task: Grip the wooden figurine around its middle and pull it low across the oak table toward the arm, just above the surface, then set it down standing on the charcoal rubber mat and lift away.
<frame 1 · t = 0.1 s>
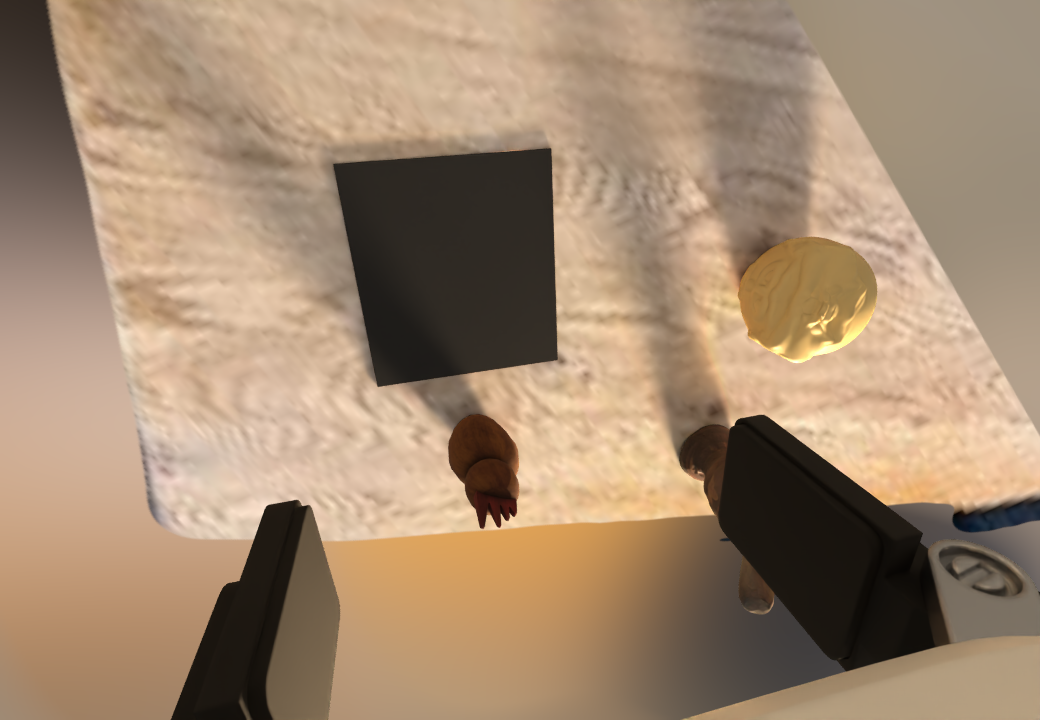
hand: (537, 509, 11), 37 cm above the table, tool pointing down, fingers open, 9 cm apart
mortar and pestle: (693, 457, 61), on the table
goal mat: (459, 273, 46), on the table
wooden figurine: (476, 430, 53), on the table
sculpture: (769, 284, 54), on the table
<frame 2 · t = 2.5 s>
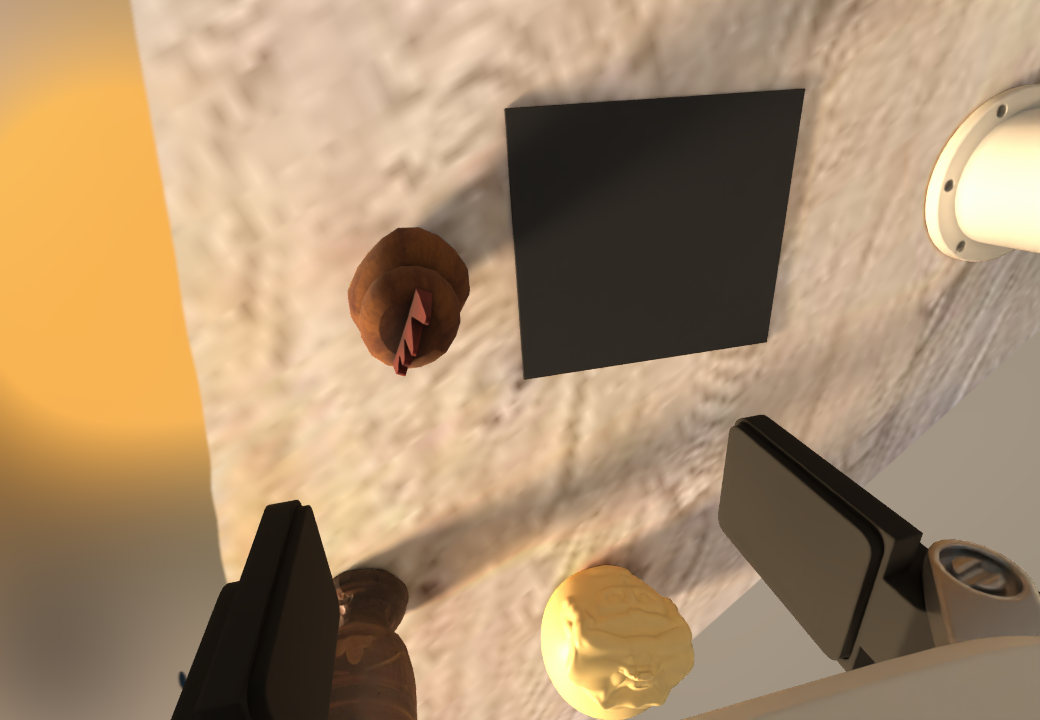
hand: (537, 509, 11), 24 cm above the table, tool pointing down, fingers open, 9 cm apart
mortar and pestle: (349, 587, 42), on the table
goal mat: (654, 242, 35), on the table
wooden figurine: (409, 270, 33), on the table
sculpture: (589, 592, 48), on the table
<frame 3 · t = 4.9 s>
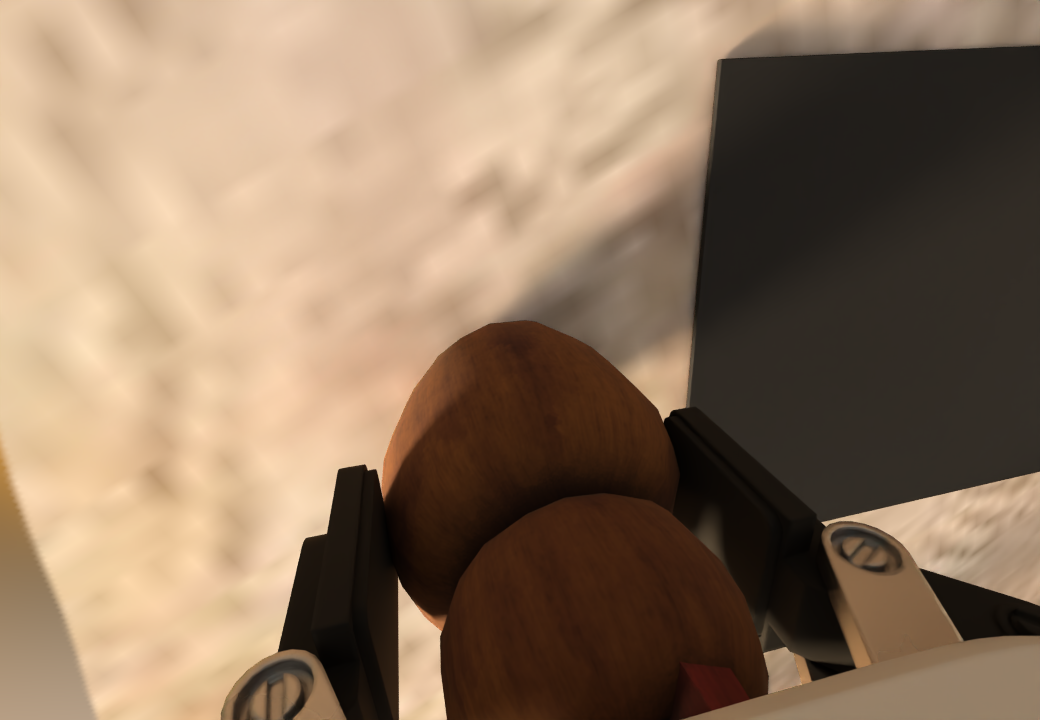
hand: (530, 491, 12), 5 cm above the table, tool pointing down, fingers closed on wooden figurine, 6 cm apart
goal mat: (928, 321, 19), on the table
wooden figurine: (491, 387, 16), on the table, touching gripper
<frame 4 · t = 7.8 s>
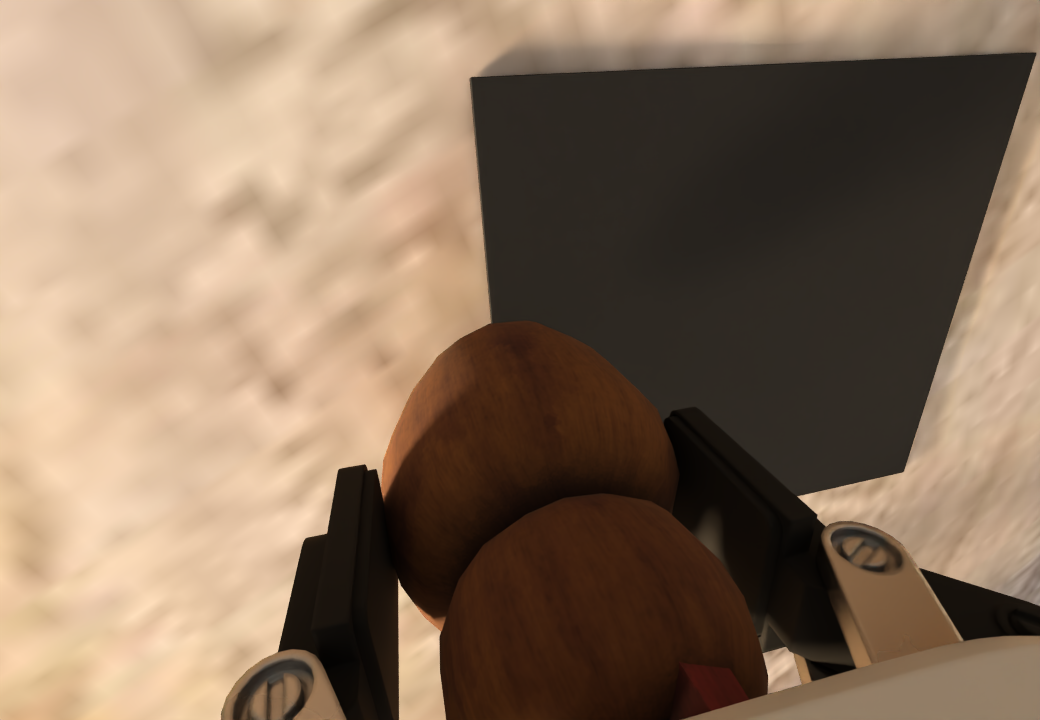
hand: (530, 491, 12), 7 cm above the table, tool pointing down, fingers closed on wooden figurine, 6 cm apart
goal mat: (746, 329, 20), on the table
wooden figurine: (491, 387, 16), point 1 cm above the table, touching gripper
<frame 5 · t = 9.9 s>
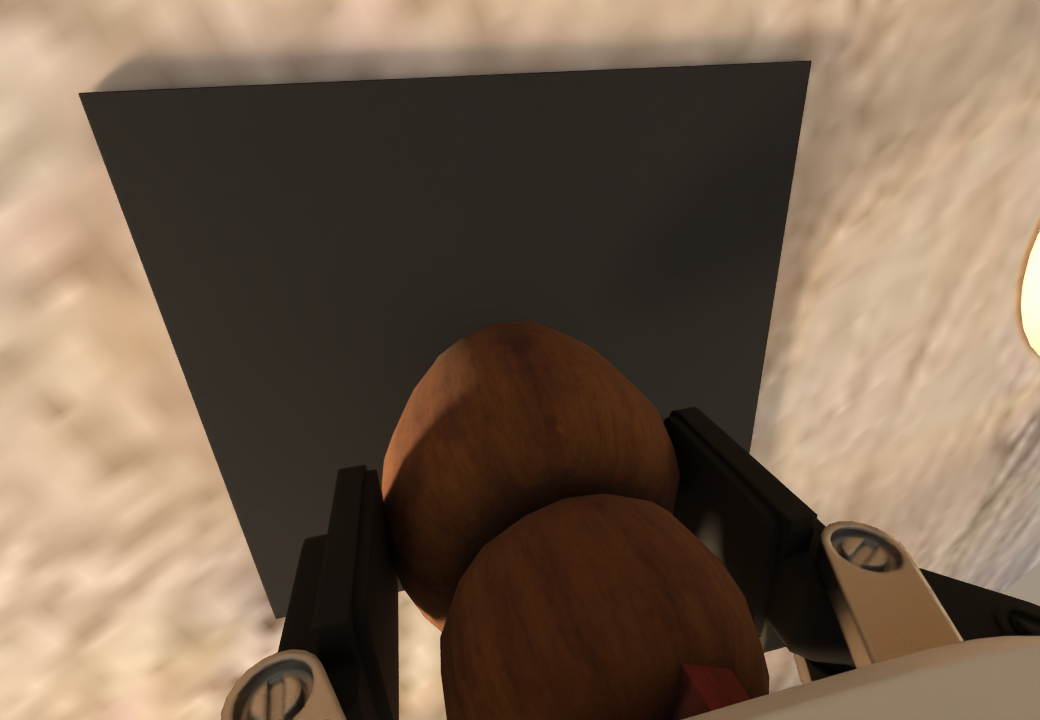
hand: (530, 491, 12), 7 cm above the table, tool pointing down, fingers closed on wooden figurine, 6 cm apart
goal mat: (512, 369, 18), on the table
wooden figurine: (491, 387, 16), point 1 cm above the table, touching gripper
when the fingers open (5 cm above the table, at t = 10.9 s): wooden figurine stays where it is, resting on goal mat.
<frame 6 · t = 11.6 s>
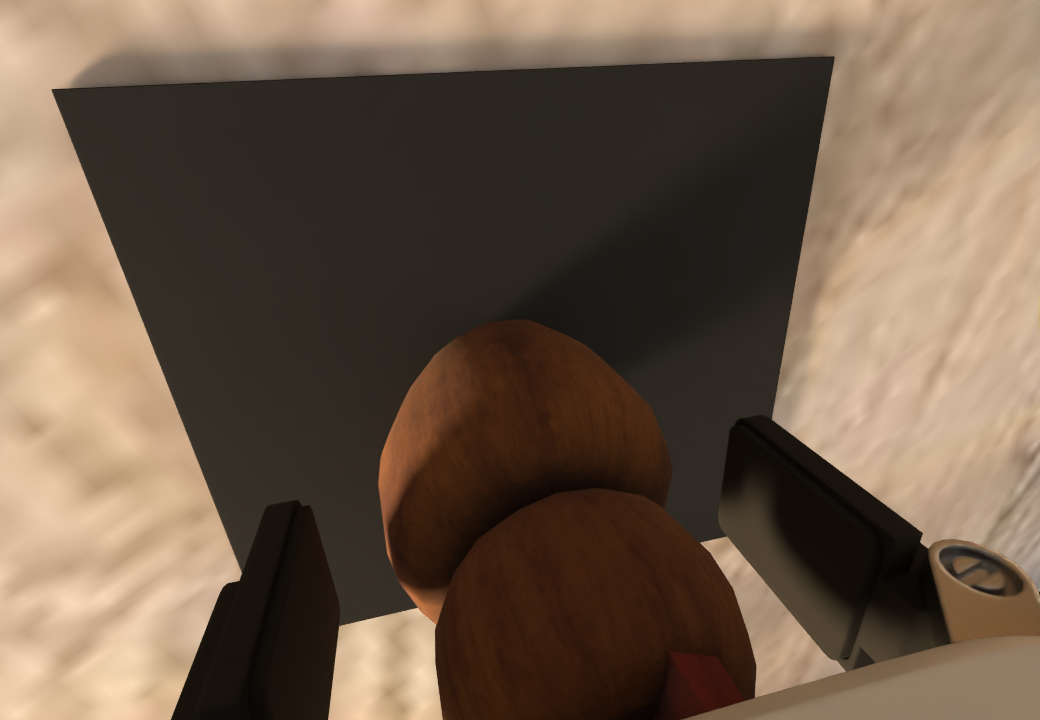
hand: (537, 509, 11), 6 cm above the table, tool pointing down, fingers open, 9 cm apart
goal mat: (517, 381, 17), on the table
wooden figurine: (487, 386, 17), resting on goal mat
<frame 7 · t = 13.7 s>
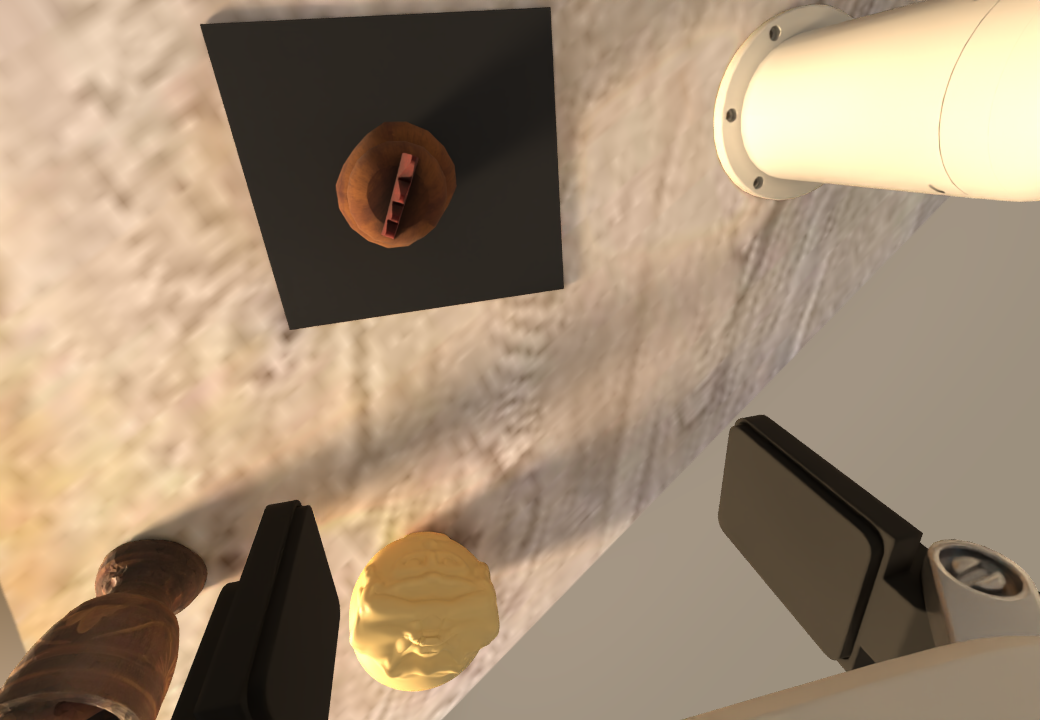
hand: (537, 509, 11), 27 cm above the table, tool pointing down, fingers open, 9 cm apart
mortar and pestle: (137, 560, 40), on the table
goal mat: (412, 178, 33), on the table
wooden figurine: (396, 180, 33), resting on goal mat
sculpture: (418, 562, 46), on the table
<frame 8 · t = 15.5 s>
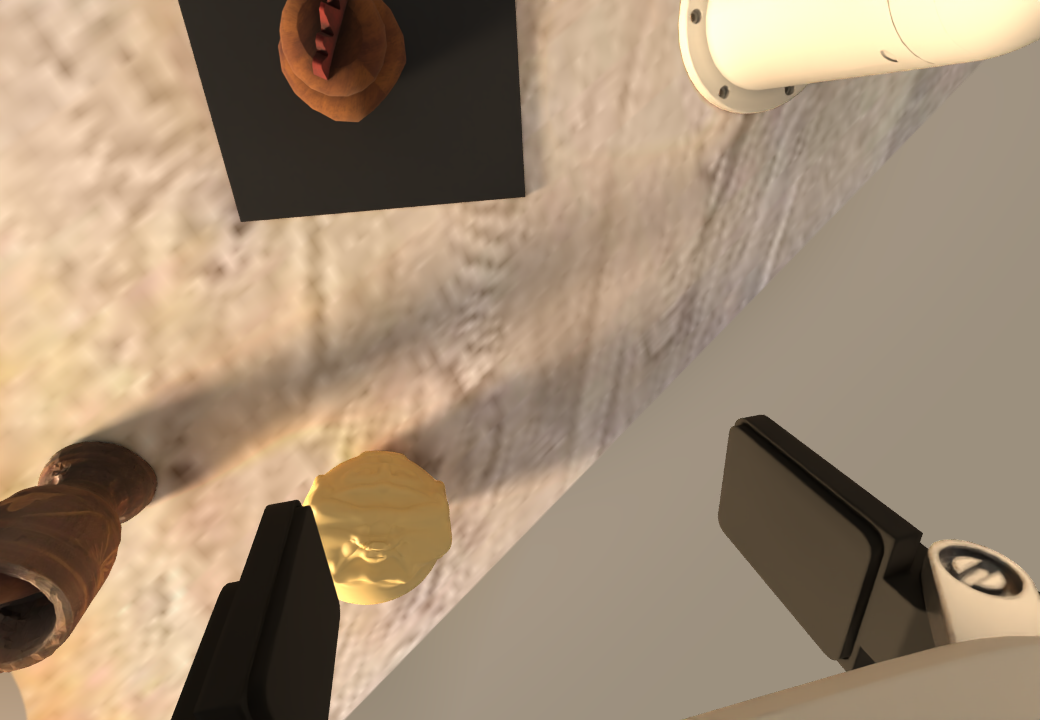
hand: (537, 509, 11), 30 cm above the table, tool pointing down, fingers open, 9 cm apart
mortar and pestle: (84, 465, 39), on the table
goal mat: (367, 64, 33), on the table
wooden figurine: (350, 65, 32), resting on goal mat
sculpture: (377, 486, 46), on the table
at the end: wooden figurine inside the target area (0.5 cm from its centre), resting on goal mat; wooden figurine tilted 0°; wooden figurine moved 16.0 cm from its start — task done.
